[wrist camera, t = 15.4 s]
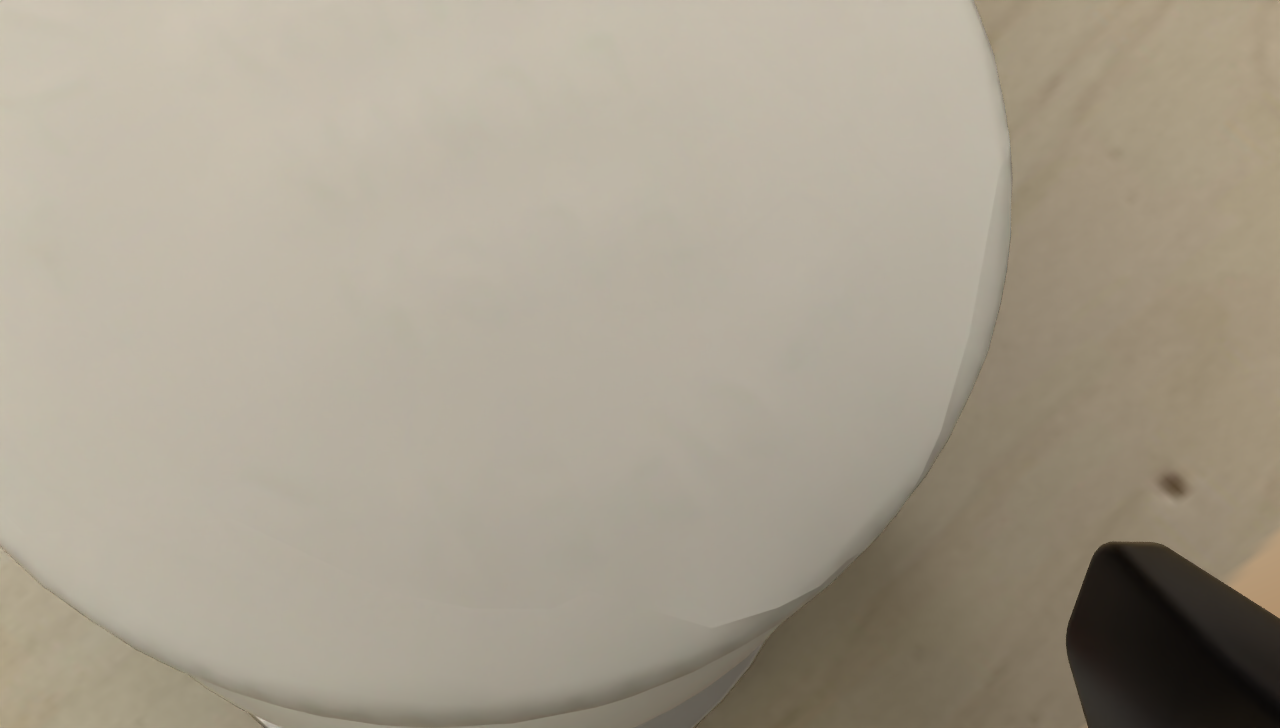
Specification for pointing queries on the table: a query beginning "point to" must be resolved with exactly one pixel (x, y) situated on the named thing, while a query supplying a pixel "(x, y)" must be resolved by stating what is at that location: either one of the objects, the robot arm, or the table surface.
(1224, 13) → the table surface
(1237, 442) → the table surface
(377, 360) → the pill bottle
